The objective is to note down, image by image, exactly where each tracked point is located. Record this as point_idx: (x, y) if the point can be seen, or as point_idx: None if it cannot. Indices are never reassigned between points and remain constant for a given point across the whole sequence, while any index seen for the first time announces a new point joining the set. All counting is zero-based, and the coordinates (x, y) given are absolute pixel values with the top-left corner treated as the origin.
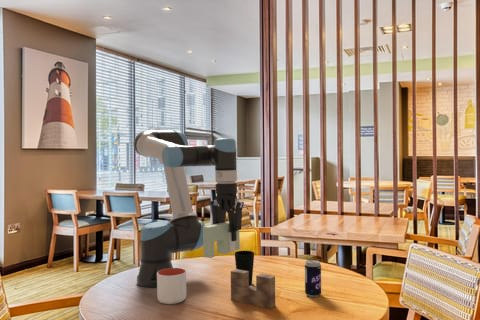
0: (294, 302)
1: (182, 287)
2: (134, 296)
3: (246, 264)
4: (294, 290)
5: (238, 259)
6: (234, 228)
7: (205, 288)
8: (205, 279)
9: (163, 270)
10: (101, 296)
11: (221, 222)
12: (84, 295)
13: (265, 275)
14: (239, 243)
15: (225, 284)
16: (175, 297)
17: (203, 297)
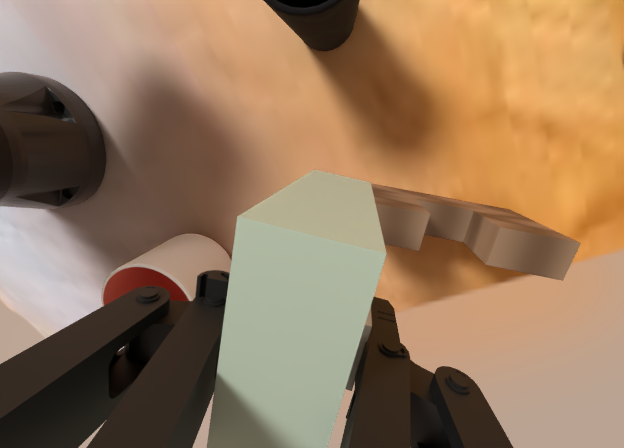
0: (575, 152)
1: None
2: (101, 274)
3: (343, 16)
4: (561, 9)
5: (296, 22)
6: (412, 443)
7: (223, 140)
8: (163, 42)
9: (107, 292)
10: (40, 299)
11: (197, 428)
12: (6, 305)
13: (530, 249)
14: (371, 189)
15: (261, 66)
16: None
17: None
